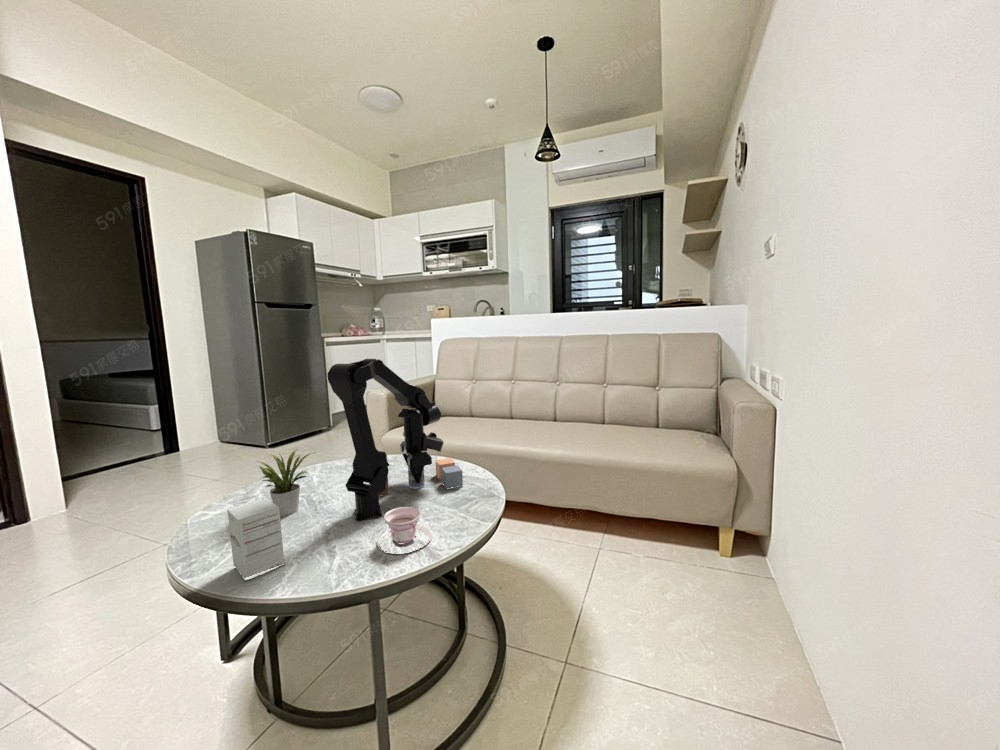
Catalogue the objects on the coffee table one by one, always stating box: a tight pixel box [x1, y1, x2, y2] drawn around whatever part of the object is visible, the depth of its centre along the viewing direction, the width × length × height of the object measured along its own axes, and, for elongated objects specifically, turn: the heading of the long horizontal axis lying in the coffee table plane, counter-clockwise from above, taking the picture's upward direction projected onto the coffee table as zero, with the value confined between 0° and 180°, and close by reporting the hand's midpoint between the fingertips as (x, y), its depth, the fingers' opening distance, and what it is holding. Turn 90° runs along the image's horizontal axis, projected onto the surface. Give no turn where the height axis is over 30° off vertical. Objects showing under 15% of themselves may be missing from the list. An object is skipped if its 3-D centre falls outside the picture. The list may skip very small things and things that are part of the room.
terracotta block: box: [435, 457, 456, 481], centre depth 126 cm, size 5×5×5 cm
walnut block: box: [368, 477, 390, 497], centre depth 115 cm, size 5×5×5 cm
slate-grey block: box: [441, 464, 464, 490], centre depth 119 cm, size 5×5×5 cm
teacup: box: [376, 506, 433, 552], centre depth 88 cm, size 12×12×6 cm
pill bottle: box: [407, 465, 426, 490], centre depth 119 cm, size 5×5×8 cm
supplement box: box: [226, 497, 285, 578], centre depth 79 cm, size 7×7×13 cm
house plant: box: [256, 448, 317, 517], centre depth 105 cm, size 14×14×16 cm
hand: (416, 480), depth 119 cm, fingers closed on pill bottle, 5 cm apart
